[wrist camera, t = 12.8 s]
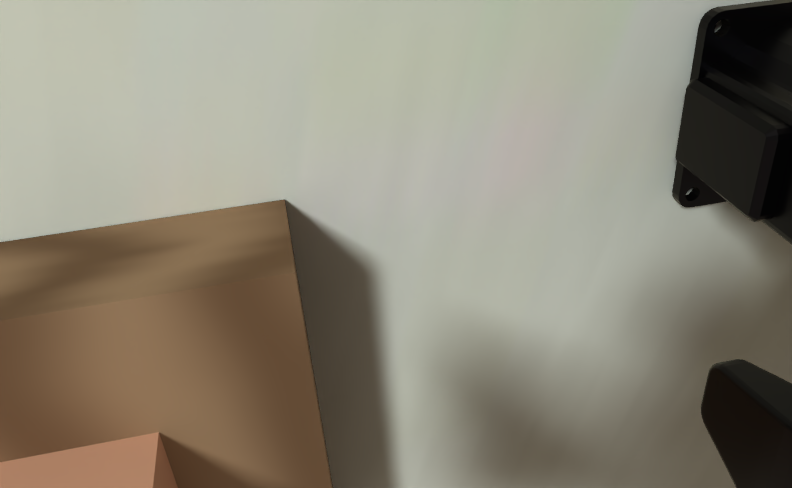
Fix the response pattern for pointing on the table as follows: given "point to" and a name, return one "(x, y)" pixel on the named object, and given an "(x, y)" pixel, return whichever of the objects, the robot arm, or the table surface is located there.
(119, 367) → the walnut plinth
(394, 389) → the table surface
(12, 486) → the terracotta block
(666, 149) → the table surface
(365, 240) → the table surface
